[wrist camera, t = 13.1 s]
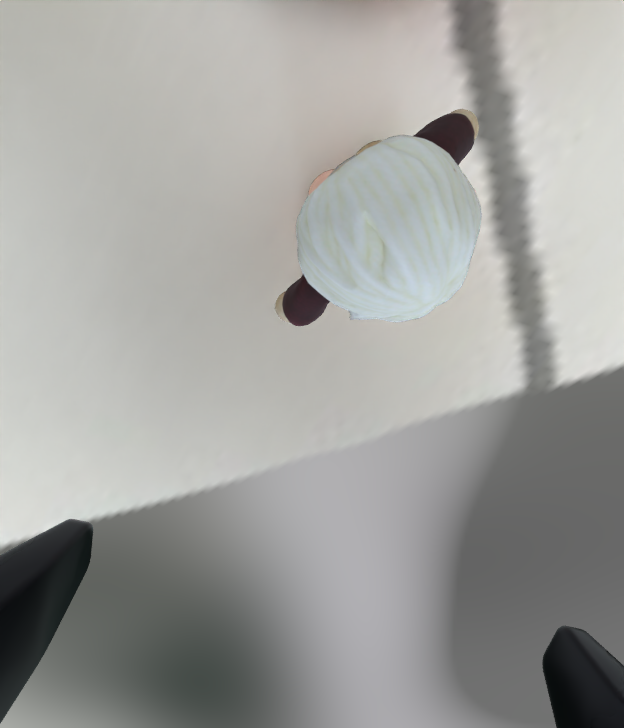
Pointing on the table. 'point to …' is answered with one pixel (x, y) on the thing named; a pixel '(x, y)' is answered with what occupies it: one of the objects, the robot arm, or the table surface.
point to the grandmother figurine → (388, 228)
